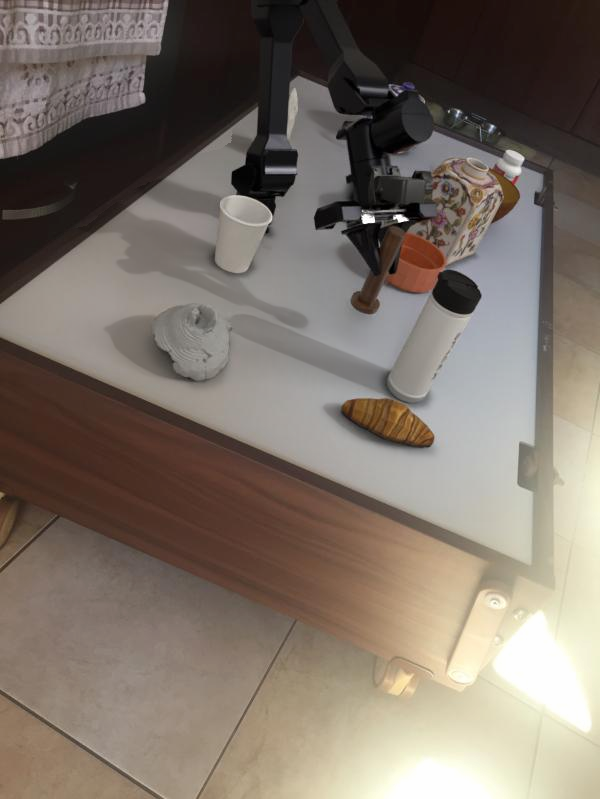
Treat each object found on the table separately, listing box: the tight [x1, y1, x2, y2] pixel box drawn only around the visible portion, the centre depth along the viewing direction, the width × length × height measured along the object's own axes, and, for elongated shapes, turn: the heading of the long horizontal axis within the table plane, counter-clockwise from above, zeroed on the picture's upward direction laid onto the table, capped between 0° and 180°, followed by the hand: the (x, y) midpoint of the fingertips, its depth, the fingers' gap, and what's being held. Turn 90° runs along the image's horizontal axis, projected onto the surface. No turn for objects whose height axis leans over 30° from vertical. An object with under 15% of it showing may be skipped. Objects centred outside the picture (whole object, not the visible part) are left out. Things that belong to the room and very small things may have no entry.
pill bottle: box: [492, 149, 525, 186], centre depth 170 cm, size 6×6×11 cm
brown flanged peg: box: [349, 226, 406, 315], centre depth 105 cm, size 4×4×13 cm
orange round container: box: [379, 232, 447, 294], centre depth 132 cm, size 12×12×6 cm
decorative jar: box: [407, 157, 504, 266], centre depth 141 cm, size 12×12×18 cm
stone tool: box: [287, 87, 299, 141], centre depth 149 cm, size 8×3×15 cm, turn 156°
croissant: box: [341, 397, 436, 448], centre depth 99 cm, size 14×7×5 cm, turn 77°
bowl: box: [442, 157, 521, 225], centre depth 155 cm, size 18×18×10 cm
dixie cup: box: [214, 194, 273, 274], centre depth 116 cm, size 8×8×10 cm
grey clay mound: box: [150, 303, 234, 382], centre depth 97 cm, size 12×12×11 cm
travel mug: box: [385, 268, 483, 404], centre depth 103 cm, size 6×7×20 cm
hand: (385, 274), depth 104 cm, fingers closed on brown flanged peg, 2 cm apart
